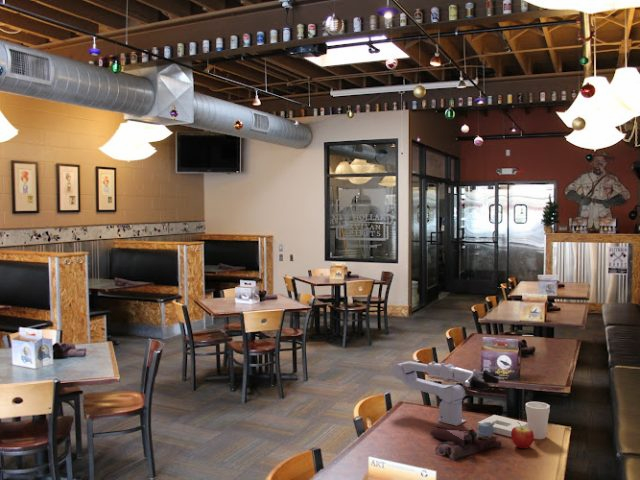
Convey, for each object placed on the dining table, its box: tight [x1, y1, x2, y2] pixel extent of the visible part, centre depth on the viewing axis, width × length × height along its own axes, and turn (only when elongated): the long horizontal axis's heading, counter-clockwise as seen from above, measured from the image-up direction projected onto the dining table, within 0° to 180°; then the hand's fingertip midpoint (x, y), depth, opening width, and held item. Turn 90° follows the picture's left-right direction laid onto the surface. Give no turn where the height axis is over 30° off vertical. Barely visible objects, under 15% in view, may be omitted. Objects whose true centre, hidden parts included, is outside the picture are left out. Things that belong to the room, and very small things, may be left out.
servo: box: [475, 421, 496, 439], centre depth 260 cm, size 12×3×6 cm, turn 135°
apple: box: [510, 422, 535, 449], centre depth 248 cm, size 8×8×10 cm
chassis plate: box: [477, 414, 528, 438], centre depth 270 cm, size 16×14×2 cm
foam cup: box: [525, 401, 551, 440], centre depth 260 cm, size 10×9×13 cm
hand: (493, 383), depth 264 cm, fingers open, 7 cm apart
